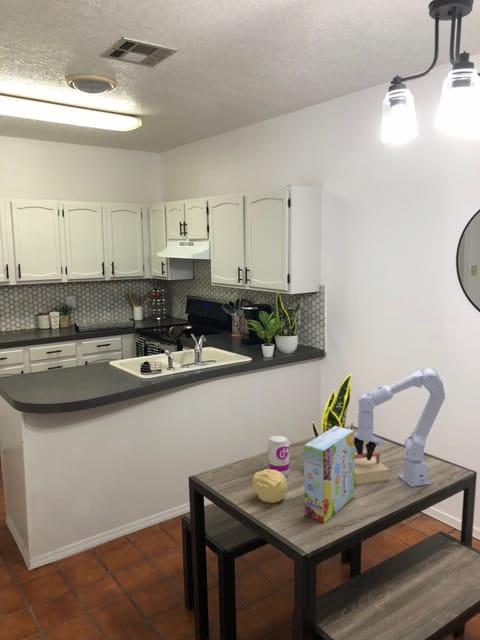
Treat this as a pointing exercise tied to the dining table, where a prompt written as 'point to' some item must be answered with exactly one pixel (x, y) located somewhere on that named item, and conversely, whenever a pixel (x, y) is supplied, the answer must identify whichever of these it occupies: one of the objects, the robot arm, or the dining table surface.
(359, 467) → the carton
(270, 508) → the dining table surface
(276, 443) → the supplement can
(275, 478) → the pale yellow round lump
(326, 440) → the snack box
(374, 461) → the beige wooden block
